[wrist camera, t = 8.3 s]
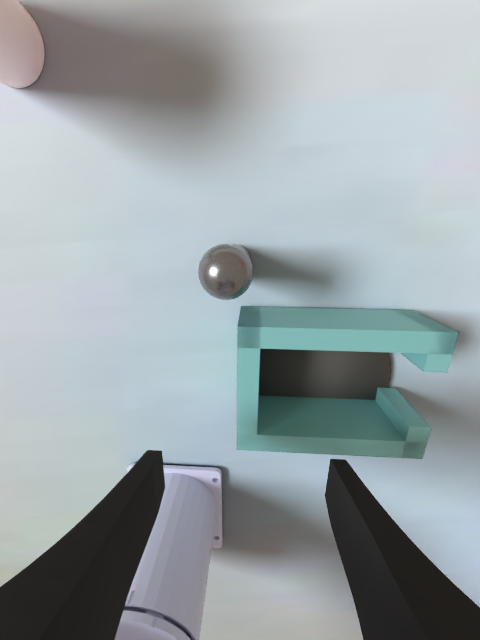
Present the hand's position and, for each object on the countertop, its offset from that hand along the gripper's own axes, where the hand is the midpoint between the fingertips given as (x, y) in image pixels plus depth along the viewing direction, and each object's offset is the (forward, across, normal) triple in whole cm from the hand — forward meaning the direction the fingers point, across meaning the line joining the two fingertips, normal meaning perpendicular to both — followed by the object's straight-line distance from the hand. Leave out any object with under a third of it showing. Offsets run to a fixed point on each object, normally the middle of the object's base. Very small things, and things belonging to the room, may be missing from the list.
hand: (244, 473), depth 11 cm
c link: (+8, -5, -1) cm, 10 cm away
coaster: (+8, -5, 0) cm, 10 cm away
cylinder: (+8, +1, -8) cm, 12 cm away
